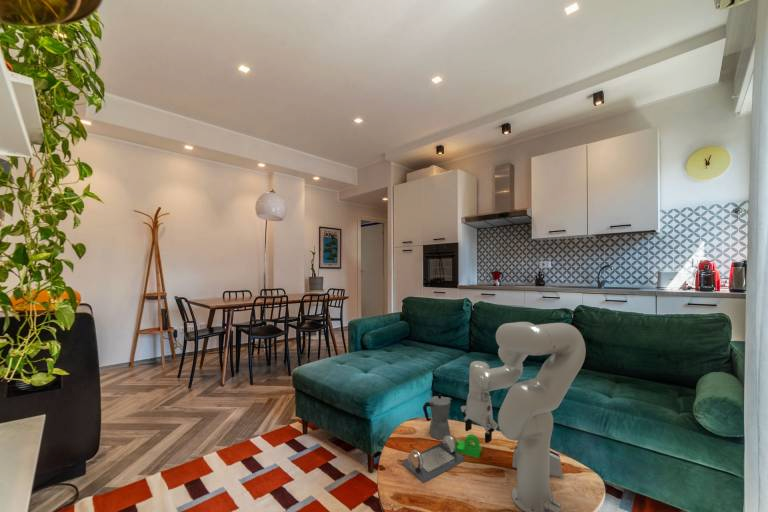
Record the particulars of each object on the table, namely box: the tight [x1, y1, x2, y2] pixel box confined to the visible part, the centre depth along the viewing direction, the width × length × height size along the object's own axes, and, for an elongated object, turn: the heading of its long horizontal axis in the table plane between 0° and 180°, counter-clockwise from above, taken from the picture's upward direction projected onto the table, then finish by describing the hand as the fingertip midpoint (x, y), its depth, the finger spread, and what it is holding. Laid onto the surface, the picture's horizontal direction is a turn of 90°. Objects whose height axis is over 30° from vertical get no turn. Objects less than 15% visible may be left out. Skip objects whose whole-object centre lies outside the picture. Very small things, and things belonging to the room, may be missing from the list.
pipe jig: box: [402, 434, 465, 483], centre depth 124 cm, size 21×12×8 cm, turn 125°
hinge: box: [511, 444, 564, 479], centre depth 119 cm, size 17×5×10 cm, turn 70°
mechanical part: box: [455, 434, 482, 459], centre depth 132 cm, size 12×6×8 cm, turn 63°
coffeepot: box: [422, 393, 453, 441], centre depth 144 cm, size 15×9×18 cm, turn 117°
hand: (477, 435), depth 130 cm, fingers open, 9 cm apart
